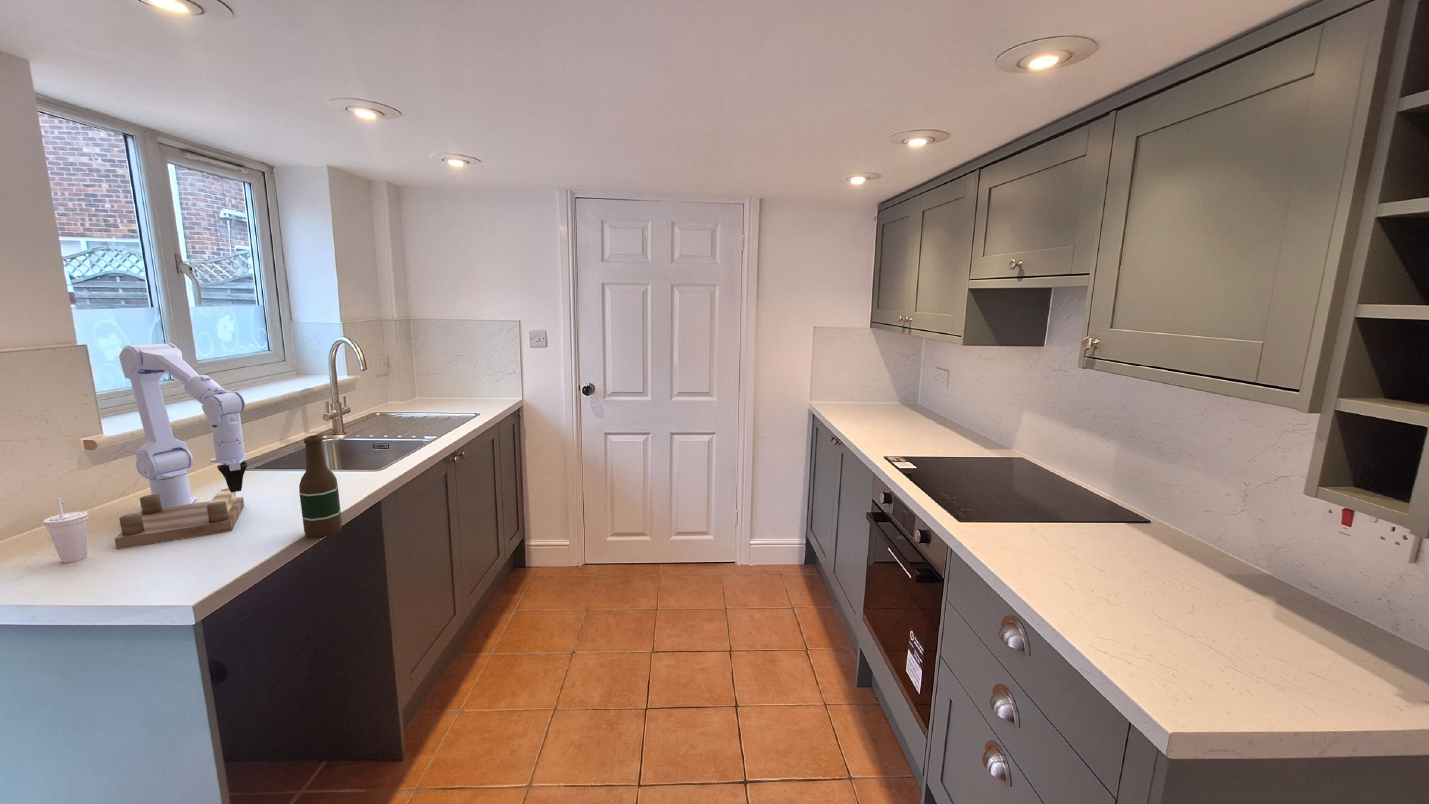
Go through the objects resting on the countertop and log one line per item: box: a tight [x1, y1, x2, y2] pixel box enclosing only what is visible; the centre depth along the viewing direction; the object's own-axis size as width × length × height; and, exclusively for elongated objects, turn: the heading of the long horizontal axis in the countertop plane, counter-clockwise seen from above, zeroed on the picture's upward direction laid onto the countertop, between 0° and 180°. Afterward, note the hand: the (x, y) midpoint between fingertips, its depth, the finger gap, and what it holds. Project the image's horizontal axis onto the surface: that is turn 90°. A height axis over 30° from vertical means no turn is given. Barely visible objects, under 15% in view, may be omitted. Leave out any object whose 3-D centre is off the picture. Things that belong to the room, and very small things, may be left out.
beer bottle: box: [298, 435, 343, 539], centre depth 135 cm, size 8×8×24 cm
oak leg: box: [209, 487, 237, 512], centre depth 145 cm, size 12×3×3 cm, turn 30°
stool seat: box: [114, 494, 245, 550], centre depth 139 cm, size 20×20×6 cm
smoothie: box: [42, 497, 90, 564], centre depth 120 cm, size 6×6×14 cm
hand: (235, 491), depth 145 cm, fingers closed
